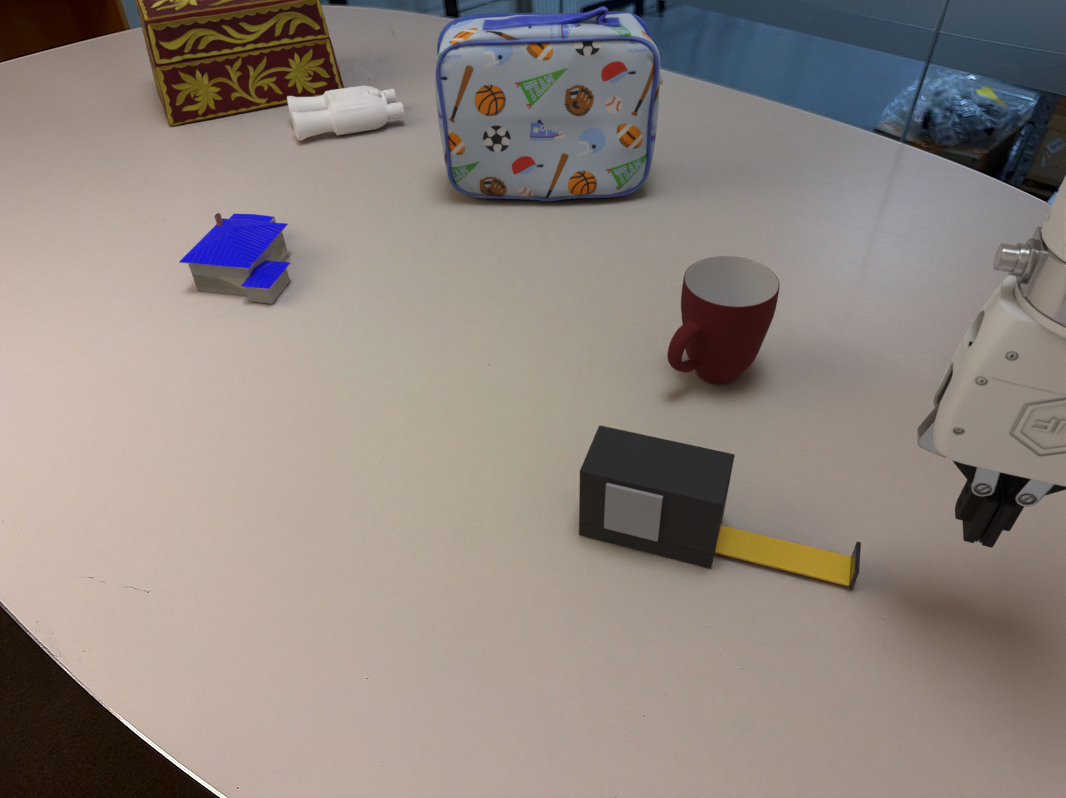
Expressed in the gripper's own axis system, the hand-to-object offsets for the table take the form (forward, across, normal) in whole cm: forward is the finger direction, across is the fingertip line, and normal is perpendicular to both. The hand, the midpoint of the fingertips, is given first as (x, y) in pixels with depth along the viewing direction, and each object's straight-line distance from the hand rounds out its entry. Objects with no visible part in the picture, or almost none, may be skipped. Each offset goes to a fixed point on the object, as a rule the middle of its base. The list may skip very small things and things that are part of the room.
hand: (976, 527), depth 51 cm
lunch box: (+9, -45, +51) cm, 69 cm away
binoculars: (+10, -81, +62) cm, 103 cm away
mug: (+8, -19, +19) cm, 28 cm away
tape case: (+8, -20, 0) cm, 22 cm away
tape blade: (+8, -11, 0) cm, 14 cm away
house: (+9, -72, +22) cm, 76 cm away
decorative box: (+10, -104, +70) cm, 126 cm away
